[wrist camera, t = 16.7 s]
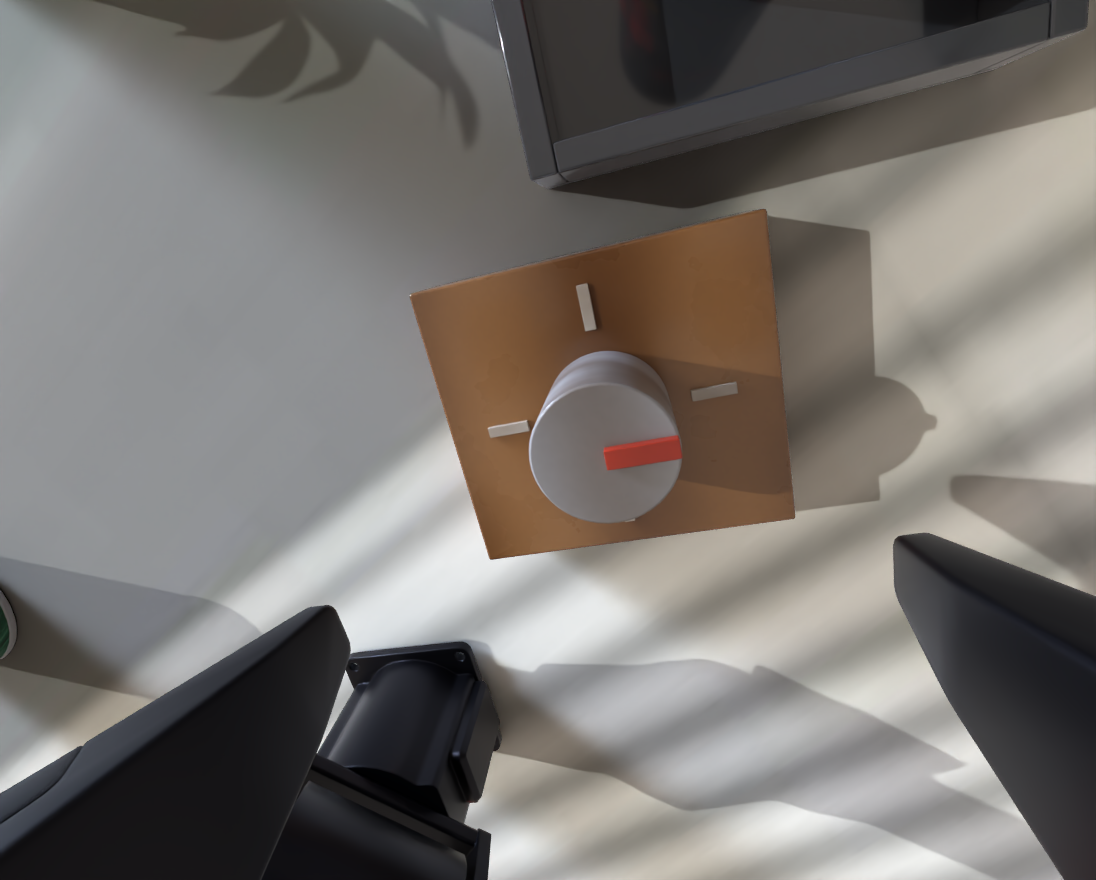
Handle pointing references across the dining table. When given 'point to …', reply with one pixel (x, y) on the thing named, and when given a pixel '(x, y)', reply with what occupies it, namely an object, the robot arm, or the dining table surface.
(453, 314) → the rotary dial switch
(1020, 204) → the dining table surface
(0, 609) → the canned tomato
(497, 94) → the dining table surface
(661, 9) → the dark square tray
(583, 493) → the tap knob
